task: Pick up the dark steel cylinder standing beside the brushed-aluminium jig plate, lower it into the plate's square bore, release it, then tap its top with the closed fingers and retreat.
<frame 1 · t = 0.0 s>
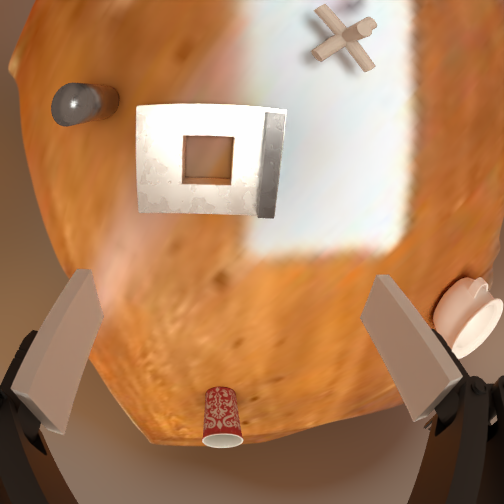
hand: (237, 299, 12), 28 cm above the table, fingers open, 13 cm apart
mug: (221, 396, 63), on the table
tan toy jack: (330, 44, 29), on the table
pot: (451, 299, 57), on the table
jig: (208, 155, 36), on the table
dark steel cylinder: (103, 102, 30), on the table
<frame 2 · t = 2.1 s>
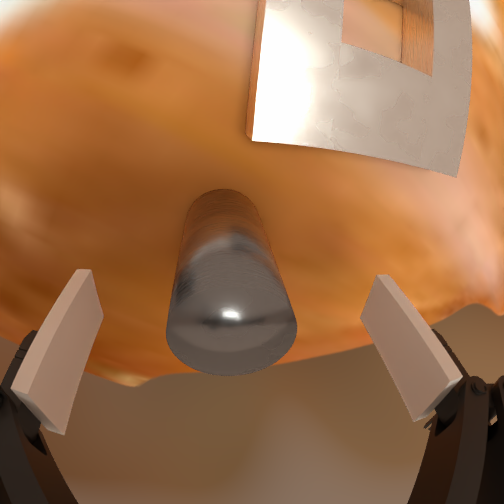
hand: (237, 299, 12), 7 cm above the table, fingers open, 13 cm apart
jig: (365, 24, 12), on the table
dark steel cylinder: (222, 223, 18), on the table
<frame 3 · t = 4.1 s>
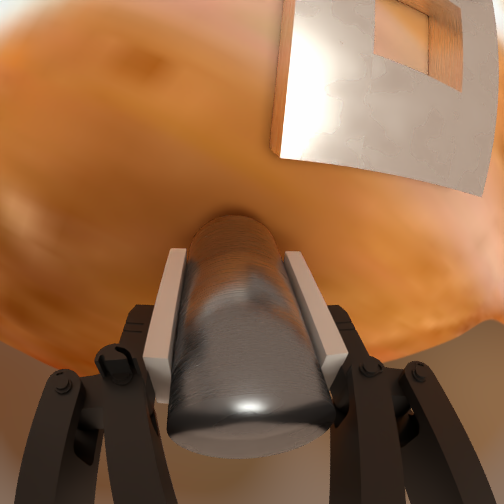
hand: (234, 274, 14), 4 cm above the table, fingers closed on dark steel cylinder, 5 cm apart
jig: (392, 34, 11), on the table
dark steel cylinder: (233, 256, 15), point 2 cm above the table, touching gripper
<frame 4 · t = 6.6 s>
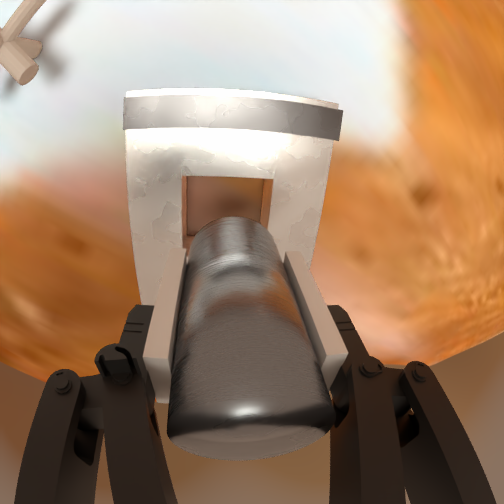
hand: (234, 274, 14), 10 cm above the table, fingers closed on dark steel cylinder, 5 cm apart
tan toy jack: (35, 50, 13), on the table
jig: (224, 202, 23), on the table
dark steel cylinder: (233, 257, 15), point 9 cm above the table, touching gripper
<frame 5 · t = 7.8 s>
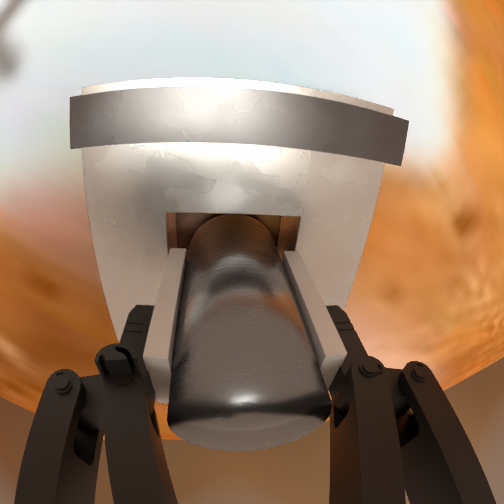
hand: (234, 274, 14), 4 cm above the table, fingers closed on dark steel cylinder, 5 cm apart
jig: (227, 239, 17), on the table
dark steel cylinder: (232, 254, 16), point 2 cm above the table, touching gripper
when the fingers open (4 cm above the table, at t = 9.2 s): dark steel cylinder drops 2 cm, resting in jig.
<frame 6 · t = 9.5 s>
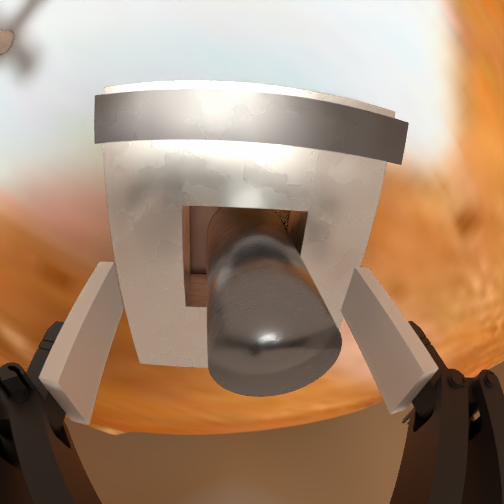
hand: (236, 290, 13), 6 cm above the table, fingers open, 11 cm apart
tan toy jack: (7, 43, 9), on the table
jig: (238, 234, 18), on the table
dark steel cylinder: (245, 235, 18), resting in jig
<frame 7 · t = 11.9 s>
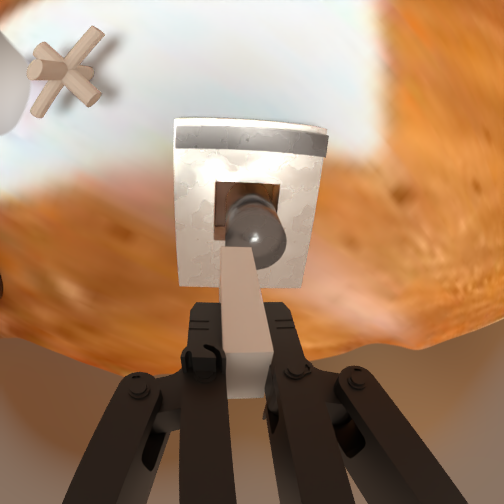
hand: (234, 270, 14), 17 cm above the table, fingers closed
tan toy jack: (87, 74, 22), on the table
jig: (243, 201, 31), on the table
dark steel cylinder: (247, 201, 31), resting in jig
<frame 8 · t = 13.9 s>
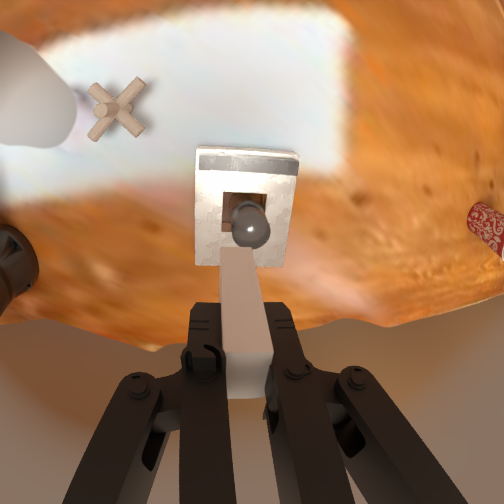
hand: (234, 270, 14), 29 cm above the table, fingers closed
mug: (479, 215, 50), on the table
tan toy jack: (127, 108, 34), on the table
jig: (241, 204, 43), on the table
dark steel cylinder: (244, 204, 43), resting in jig
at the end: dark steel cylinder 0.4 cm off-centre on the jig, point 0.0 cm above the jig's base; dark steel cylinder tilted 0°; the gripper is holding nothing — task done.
